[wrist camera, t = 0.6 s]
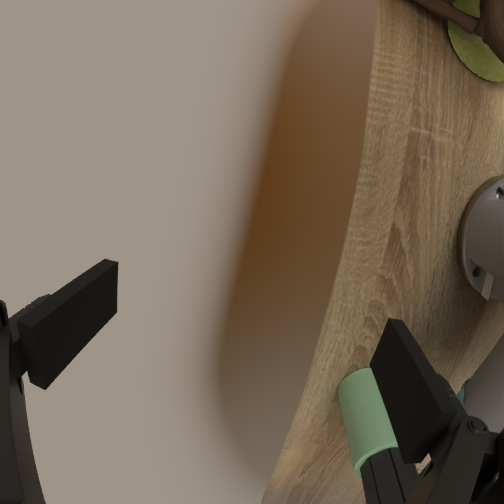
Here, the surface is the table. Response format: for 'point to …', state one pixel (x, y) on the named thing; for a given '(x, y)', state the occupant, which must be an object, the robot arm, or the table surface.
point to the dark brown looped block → (475, 21)
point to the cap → (388, 477)
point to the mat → (474, 46)
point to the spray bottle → (364, 417)
